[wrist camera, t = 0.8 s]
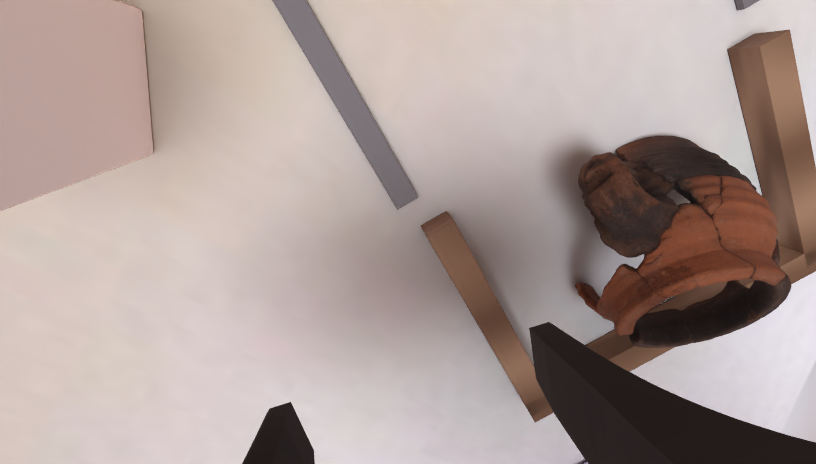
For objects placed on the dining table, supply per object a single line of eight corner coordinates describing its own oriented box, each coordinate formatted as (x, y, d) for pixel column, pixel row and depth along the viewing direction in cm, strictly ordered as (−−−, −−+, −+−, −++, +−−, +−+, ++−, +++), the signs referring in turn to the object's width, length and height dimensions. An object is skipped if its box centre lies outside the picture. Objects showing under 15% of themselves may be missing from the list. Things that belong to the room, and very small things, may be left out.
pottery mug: (745, 169, 25) (853, 294, 19) (601, 256, 30) (654, 372, 25) (630, 52, 19) (741, 186, 13) (476, 187, 24) (511, 321, 19)
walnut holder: (801, 250, 26) (833, 261, 24) (523, 401, 27) (535, 422, 25) (755, 33, 22) (789, 29, 20) (420, 225, 22) (427, 237, 21)
